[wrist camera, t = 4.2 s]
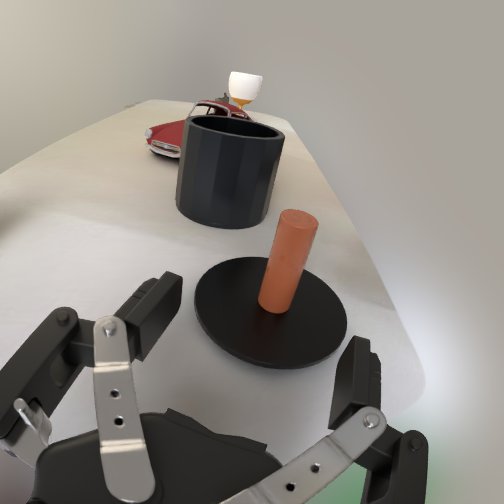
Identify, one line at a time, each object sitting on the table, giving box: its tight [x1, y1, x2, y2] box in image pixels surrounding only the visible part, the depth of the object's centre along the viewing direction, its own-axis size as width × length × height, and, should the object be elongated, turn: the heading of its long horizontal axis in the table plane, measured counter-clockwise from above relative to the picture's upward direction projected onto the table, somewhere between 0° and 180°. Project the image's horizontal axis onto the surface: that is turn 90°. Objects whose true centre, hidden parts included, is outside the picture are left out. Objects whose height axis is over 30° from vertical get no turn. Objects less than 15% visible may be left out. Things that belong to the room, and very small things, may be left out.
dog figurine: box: [213, 93, 229, 113], centre depth 100 cm, size 12×6×7 cm, turn 178°
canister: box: [175, 115, 285, 229], centre depth 37 cm, size 11×11×10 cm
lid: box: [194, 209, 347, 369], centre depth 23 cm, size 12×12×9 cm
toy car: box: [145, 100, 253, 158], centre depth 56 cm, size 11×25×10 cm, turn 155°
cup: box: [229, 72, 262, 115], centre depth 78 cm, size 9×9×16 cm
